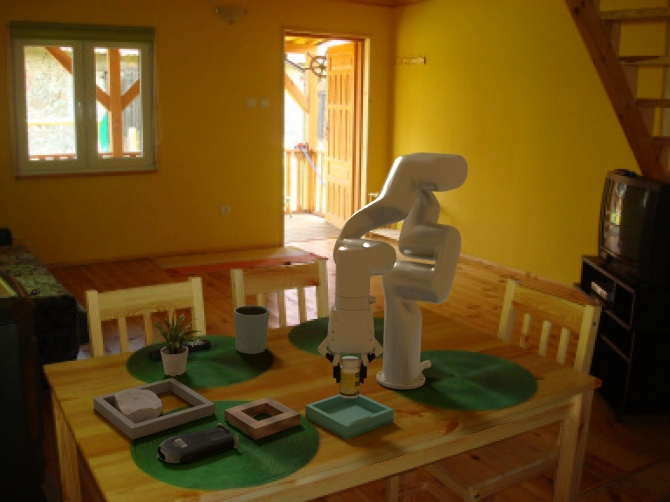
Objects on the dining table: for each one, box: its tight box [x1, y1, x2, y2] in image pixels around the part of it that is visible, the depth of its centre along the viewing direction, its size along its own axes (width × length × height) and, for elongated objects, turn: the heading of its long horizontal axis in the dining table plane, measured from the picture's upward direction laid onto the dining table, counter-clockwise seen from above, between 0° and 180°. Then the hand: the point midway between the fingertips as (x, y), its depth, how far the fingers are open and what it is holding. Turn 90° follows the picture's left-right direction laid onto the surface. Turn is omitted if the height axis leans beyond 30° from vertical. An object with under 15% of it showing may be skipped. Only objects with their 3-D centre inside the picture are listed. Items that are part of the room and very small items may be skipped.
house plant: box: [145, 311, 204, 377], centre depth 180 cm, size 14×14×16 cm
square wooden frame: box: [224, 396, 301, 441], centre depth 155 cm, size 12×12×2 cm
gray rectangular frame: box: [92, 377, 216, 440], centre depth 159 cm, size 20×20×2 cm
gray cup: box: [233, 304, 270, 355], centre depth 200 cm, size 10×10×12 cm
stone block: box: [114, 389, 163, 424], centre depth 159 cm, size 12×5×10 cm
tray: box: [304, 393, 394, 441], centre depth 157 cm, size 14×14×3 cm
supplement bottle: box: [338, 355, 361, 398], centre depth 155 cm, size 5×5×8 cm
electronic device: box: [156, 422, 240, 465], centre depth 142 cm, size 9×6×15 cm
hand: (349, 380), depth 155 cm, fingers closed on supplement bottle, 4 cm apart
